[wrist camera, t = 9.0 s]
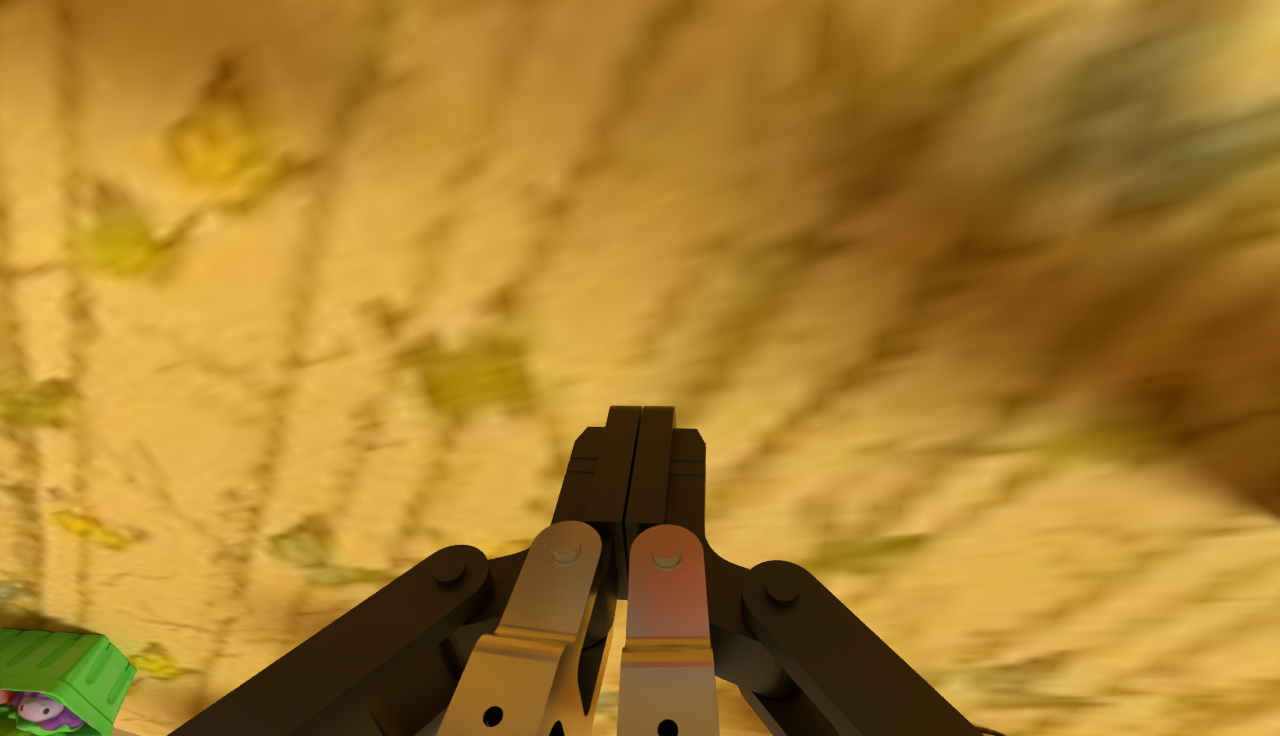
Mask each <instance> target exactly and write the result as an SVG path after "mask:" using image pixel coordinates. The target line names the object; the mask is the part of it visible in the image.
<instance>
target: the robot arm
mask: <svg viewBox="0 0 1280 736" xmlns="http://www.w3.org/2000/svg"><path fill="white" fill-rule="evenodd" d="M705 481H706V444H705V442H704V440H703V439H702V437H701V435H700V434H699V432H698V430H697V429H680V428H676V415H675V407H673V406H644V407H643V408H642V406H611V407H610V409H609V413H608V418H607V422H606V426H605V427H587V428H586V430H585V431H584V432H583V433H582V434H581V435H580V436H579V437H578V438H577V440H576V441H575V443H574V446H573V450H572V453H571V457H570V461H569V464H568V467H567V471H566V475H565V477H564V481H563V484H562V488H561V491H560V495H559V498H558V502H557V505H556V509H555V512H554V515H553V519H552V522H551V525H550V526H549V527H547V528H545V529H544V530H543V531H541V532H540V533H539V534H538V535H537V537H536V538H535V539H534V541H533V543H532V545H531V547H530V548H528V549H526V550H524V551H521V552H519V553H515V554H512V555H508V556H503V557H499V558H495V559H490V560H487V558H486V556H485V555H484V553H483V552H482V551H480V550H479V549H477V548H475V547H473V546H469V545H454V546H449V547H446V548H443V549H441V550H439V551H437V552H435V553H433V554H432V555H430V556H429V557H427V558H426V559H425V560H423V561H422V562H420V563H419V564H417V565H416V566H414V567H413V568H411V569H410V570H408V571H407V572H405V573H404V574H403V575H401V576H400V577H398V578H397V579H395V580H394V581H392V582H391V583H389V584H388V585H386V586H385V587H384V588H382V589H381V590H379V591H378V592H376V593H375V594H373V595H372V596H370V597H369V598H367V599H366V600H365V601H363V602H362V603H360V604H359V605H357V606H356V607H354V608H353V609H351V610H350V611H348V612H347V613H346V614H344V615H343V616H341V617H340V618H338V619H337V620H335V621H334V622H332V623H331V624H329V625H328V626H327V627H325V628H324V629H322V630H321V631H319V632H318V633H316V634H315V635H313V636H312V637H310V638H309V639H308V640H306V641H305V642H303V643H302V644H300V645H299V646H297V647H296V648H294V649H293V650H291V651H290V652H288V653H287V654H286V655H284V656H283V657H281V658H280V659H278V660H277V661H275V662H274V663H272V664H271V665H269V666H268V667H267V668H265V669H264V670H262V671H261V672H259V673H258V674H256V675H255V676H253V677H252V678H250V679H249V680H248V681H246V682H245V683H243V684H242V685H240V686H239V687H237V688H236V689H234V690H233V691H231V692H230V693H229V694H227V695H226V696H224V697H223V698H221V699H220V700H218V701H217V702H215V703H214V704H212V705H211V706H210V707H208V708H207V709H205V710H204V711H202V712H201V713H199V714H198V715H196V716H195V717H193V718H192V719H191V720H189V721H188V722H186V723H185V724H183V725H182V726H180V727H179V728H177V729H176V730H174V731H173V732H172V733H170V734H169V735H167V736H591V732H592V725H593V720H594V715H595V711H596V707H597V702H598V698H599V694H600V689H601V685H602V681H603V677H604V672H605V668H606V664H607V659H608V655H609V651H610V646H611V642H612V638H613V621H614V616H615V610H616V603H617V599H618V600H628V605H627V625H626V643H625V647H623V650H622V656H621V670H620V688H619V706H618V725H617V736H720V735H719V722H718V709H717V697H716V684H715V676H717V677H720V678H722V679H724V680H727V681H729V682H731V683H734V684H736V685H738V687H739V689H740V692H741V694H742V695H743V697H744V698H745V700H746V701H747V702H748V703H749V705H750V706H751V707H752V709H753V710H754V711H755V712H756V714H757V715H758V716H759V717H760V719H761V720H762V721H763V723H764V724H765V725H766V726H767V728H768V729H769V730H770V731H771V733H772V734H773V735H774V736H984V735H983V734H982V733H981V732H980V731H979V730H978V729H976V728H975V727H974V726H973V725H972V724H971V723H970V722H969V721H968V720H967V719H966V718H965V717H964V716H963V715H961V714H960V713H959V712H958V711H957V710H956V709H955V708H954V707H953V706H952V705H951V704H950V703H949V702H948V701H946V700H945V699H944V698H943V697H942V696H941V695H940V694H939V693H938V692H937V691H936V690H935V689H934V688H933V687H931V686H930V685H929V684H928V683H927V682H926V681H925V680H924V679H923V678H922V677H921V676H920V675H919V674H918V673H917V672H915V671H914V670H913V669H912V668H911V667H910V666H909V665H908V664H907V663H906V662H905V661H904V660H903V659H902V658H900V657H899V656H898V655H897V654H896V653H895V652H894V651H893V650H892V649H891V648H890V647H889V646H888V645H887V644H885V643H884V642H883V641H882V640H881V639H880V638H879V637H878V636H877V635H876V634H875V633H874V632H873V631H872V630H870V629H869V628H868V627H867V626H866V625H865V624H864V623H863V622H862V621H861V620H860V619H859V618H858V617H857V616H855V615H854V614H853V613H852V612H851V611H850V610H849V609H848V608H847V607H846V606H845V605H844V604H843V603H842V602H840V601H839V600H838V599H837V598H836V597H835V596H834V595H833V594H832V593H831V592H830V591H829V590H828V589H827V588H826V587H824V586H823V585H822V584H821V583H820V582H819V581H818V580H817V579H816V578H815V577H814V576H813V575H812V574H810V573H809V572H808V571H807V570H806V569H804V568H802V567H801V566H799V565H796V564H794V563H791V562H787V561H781V560H772V561H766V562H763V563H760V564H758V565H756V566H754V567H753V568H752V569H751V570H750V569H747V568H744V567H741V566H738V565H735V564H733V563H730V562H728V561H726V560H725V559H723V558H721V557H720V556H719V555H717V554H716V553H715V552H714V551H713V550H712V548H711V547H710V546H709V544H708V542H707V540H706V537H705Z"/></svg>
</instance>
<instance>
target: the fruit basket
mask: <svg viewBox="0 0 1280 736" xmlns="http://www.w3.org/2000/svg"><path fill="white" fill-rule="evenodd" d="M136 671H137V669H136V668H135V667H134V666H133V665H131V664H129V662H128V659H127V658H126V657H125V656H124V655H123V654H122V653H121V652H120V651H119V650H118V649H117V648H116V647H115V646H114V645H113V644H111V643H110V642H109V640H108V638H107V637H106V636H104V635H98V634H84V635H82V634H77V633H68V632H56V633H52V632H48V631H38V630H27V631H23V630H19V629H8V628H2V629H0V736H110V735H111V732H112V729H113V723H114V721H115V718H116V716H117V714H118V712H119V709H120V707H121V705H122V703H123V701H124V698H125V696H126V694H127V692H128V689H129V687H130V685H131V683H132V680H133V678H134V676H135V674H136Z"/></svg>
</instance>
